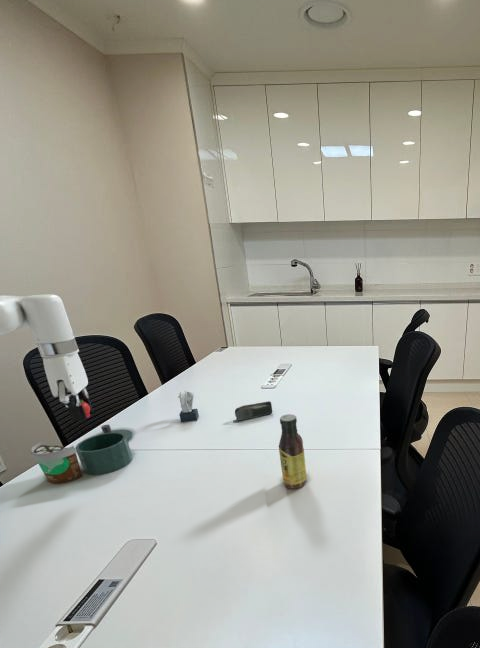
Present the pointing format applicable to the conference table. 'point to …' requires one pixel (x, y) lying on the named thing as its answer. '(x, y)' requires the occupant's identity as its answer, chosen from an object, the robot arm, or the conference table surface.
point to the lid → (108, 430)
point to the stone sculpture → (187, 407)
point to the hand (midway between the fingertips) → (83, 416)
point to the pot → (104, 453)
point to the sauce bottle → (291, 453)
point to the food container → (57, 463)
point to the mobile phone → (253, 411)
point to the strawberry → (85, 408)
